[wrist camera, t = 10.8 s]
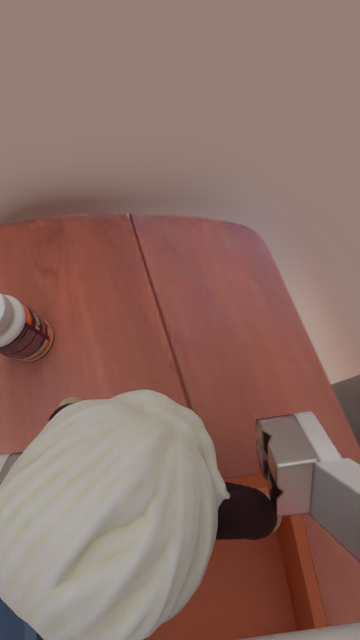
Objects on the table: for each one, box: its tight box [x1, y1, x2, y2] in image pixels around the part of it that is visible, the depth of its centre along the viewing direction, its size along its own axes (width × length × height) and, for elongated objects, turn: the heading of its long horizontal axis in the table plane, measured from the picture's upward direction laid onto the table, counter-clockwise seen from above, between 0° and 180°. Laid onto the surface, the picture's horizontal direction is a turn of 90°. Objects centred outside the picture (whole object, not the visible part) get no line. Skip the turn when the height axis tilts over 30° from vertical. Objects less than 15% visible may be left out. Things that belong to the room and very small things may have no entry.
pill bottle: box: [0, 293, 53, 362], centre depth 29 cm, size 5×5×8 cm
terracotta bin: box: [143, 473, 328, 640], centre depth 23 cm, size 15×14×7 cm
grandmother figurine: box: [0, 390, 281, 640], centre depth 10 cm, size 8×4×13 cm, turn 77°
